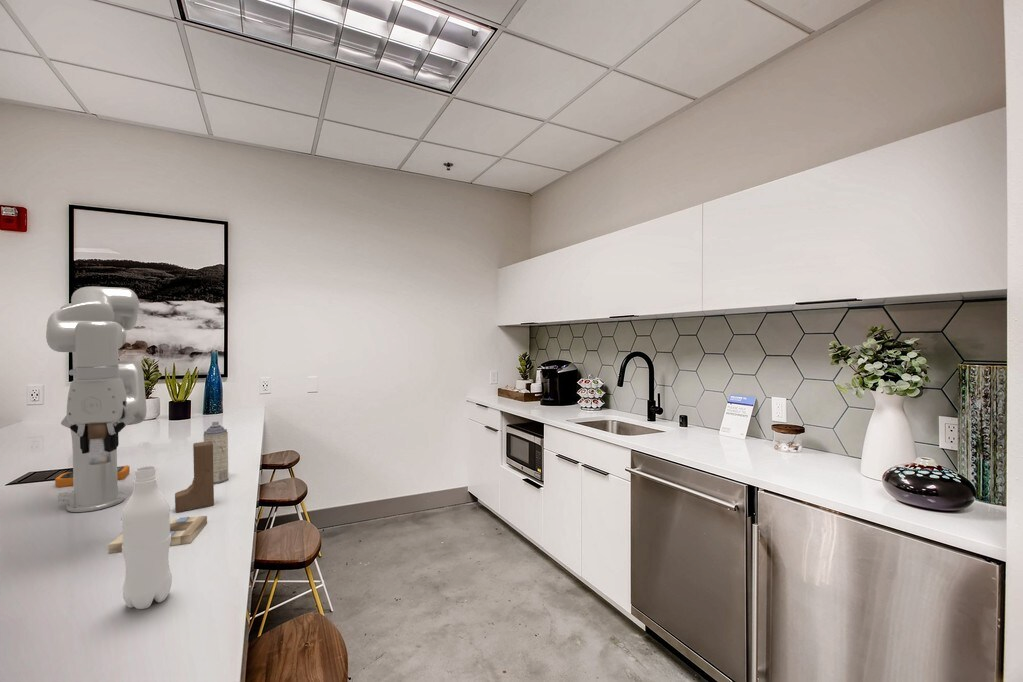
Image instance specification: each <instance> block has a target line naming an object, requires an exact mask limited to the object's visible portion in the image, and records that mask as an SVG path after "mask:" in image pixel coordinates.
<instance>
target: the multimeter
mask: <svg viewBox="0 0 1023 682" xmlns="http://www.w3.org/2000/svg"><path fill="white" fill-rule="evenodd" d="M129 474H130V465H122V466H117V480H118V481H121V480H125V478H126V477H127V476H128V475H129ZM54 483H55V484H54V485H55V486H56V487H57V488H66V487H74V485H73V471H68V472H63V473H61V474H59V475H58V476H57V477H56V478H54Z"/></svg>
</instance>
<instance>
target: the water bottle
mask: <svg viewBox="0 0 1023 682" xmlns="http://www.w3.org/2000/svg"><path fill="white" fill-rule="evenodd" d="M156 470H157V469H156V466H155V465H154V466H152V465H149V466H142V467H138V468H136V469H135V470H134V476H135V477H134V480H133V483H132V484H134V487H133V492H132V494H131V495H130V496H129V499H128V500H127V502H126V504H125V506H124V507H123V510H122V512H121V517H120V518H121V519H120V520H121V523H122V526H121V527H122V532H121V533H123V544H122V552H121V553H122V555H123V559H124V564H125V577H124V581H123V582H124V583H123V585H122V598H123V600H124V602H125V604H126V606H127V607H128V608H131V609H132V608H135V609H137V610H145V609H148V608H149V607H151V605H152V603H153V601H154V600H155V601H156V602H157V603H162V602H163V601H165V600H166V598H167V597H168V595H169V594H170V591H171V587H172V583H173V579H172V578H173V576H172V572H171V569H170V564H169V552H170V547H171V546H170V542H171V534H170V520H171V518H170V516H171V515H170V514H171V506H170V502H169V501H168V499H167V497H166V495H165V494H164V493H163V492H162V491H161V490H160V488H159V487H158V484H157V481H158V475H157V472H156Z"/></svg>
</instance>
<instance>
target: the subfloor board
mask: <svg viewBox="0 0 1023 682" xmlns="http://www.w3.org/2000/svg"><path fill="white" fill-rule="evenodd" d="M207 524H208V515H201V516H191V517H190V516H182V517H179V518H173V519H172V518H170V534H171V542H170V546H169V547H172V546H179V545H180V546H181V545H186V544H191V543H192V542H193V541H194V540H195V538H196V537H197V536H198V535H199V534H200V532H201V531H202V530H203V529H204V527H206V525H207ZM122 544H123V532H121V533H120V534H119V535H117V537H116V538H114V539H113V540H112V541H111V542H110V543H108V545H107V546H108V548H107V549H108V554H113V553H122Z"/></svg>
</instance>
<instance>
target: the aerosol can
mask: <svg viewBox="0 0 1023 682" xmlns="http://www.w3.org/2000/svg"><path fill="white" fill-rule="evenodd" d="M228 433H229V432H228V429H227V428H225V427H224V426H222V425H220V424H219V421H216V420H215V421H212V422H211V425H210V426H209V427H207V429H206V430H205V431H203V442H207V441H211V442H212V444H213V476H214V485H216V484H222V483H226V482H228V481H229V445H228V444H229V443H228V442H229V440H228V439H229V434H228Z"/></svg>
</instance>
